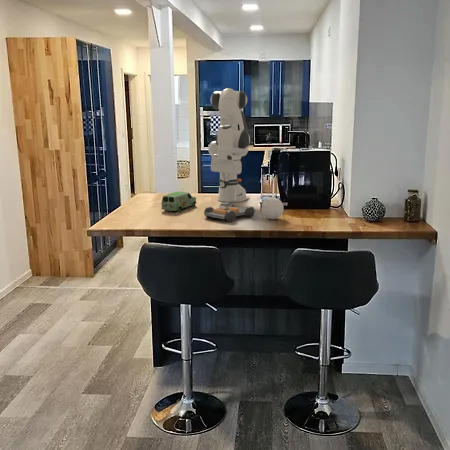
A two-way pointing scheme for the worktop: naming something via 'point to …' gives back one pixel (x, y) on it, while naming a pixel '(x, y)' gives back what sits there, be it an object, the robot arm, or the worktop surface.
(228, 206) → the grey wooden block
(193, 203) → the toy car
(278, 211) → the decorative ball
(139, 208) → the worktop surface
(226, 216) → the chassis
